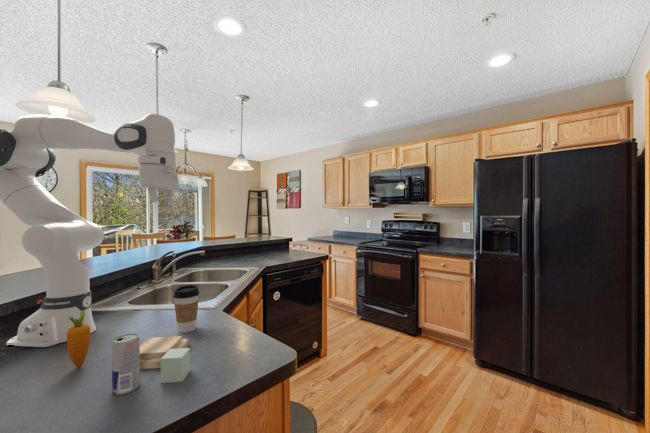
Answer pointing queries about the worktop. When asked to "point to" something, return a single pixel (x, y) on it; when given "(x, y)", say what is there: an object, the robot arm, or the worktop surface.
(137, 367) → the energy drink
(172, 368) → the block
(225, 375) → the worktop surface
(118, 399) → the worktop surface
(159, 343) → the stand
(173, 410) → the worktop surface
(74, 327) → the carrot
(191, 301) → the coffee cup
